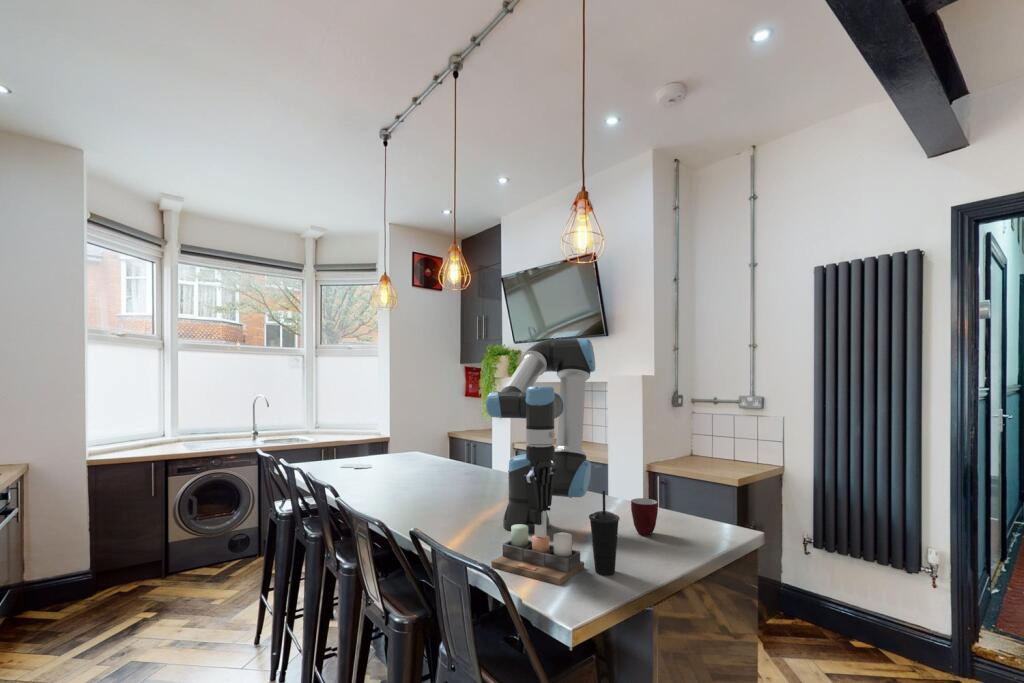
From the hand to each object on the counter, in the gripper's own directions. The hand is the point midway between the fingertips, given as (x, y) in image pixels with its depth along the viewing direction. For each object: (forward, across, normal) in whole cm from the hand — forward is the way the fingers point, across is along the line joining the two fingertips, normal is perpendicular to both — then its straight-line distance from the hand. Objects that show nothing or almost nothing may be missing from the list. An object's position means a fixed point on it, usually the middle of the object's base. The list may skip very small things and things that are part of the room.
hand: (540, 536), depth 131 cm
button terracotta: (+5, 0, 0) cm, 5 cm away
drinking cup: (+8, +6, -16) cm, 18 cm away
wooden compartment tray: (+8, -1, 0) cm, 8 cm away
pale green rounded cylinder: (+4, 0, +6) cm, 7 cm away
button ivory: (+4, 0, -7) cm, 7 cm away
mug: (+8, +40, -14) cm, 43 cm away
